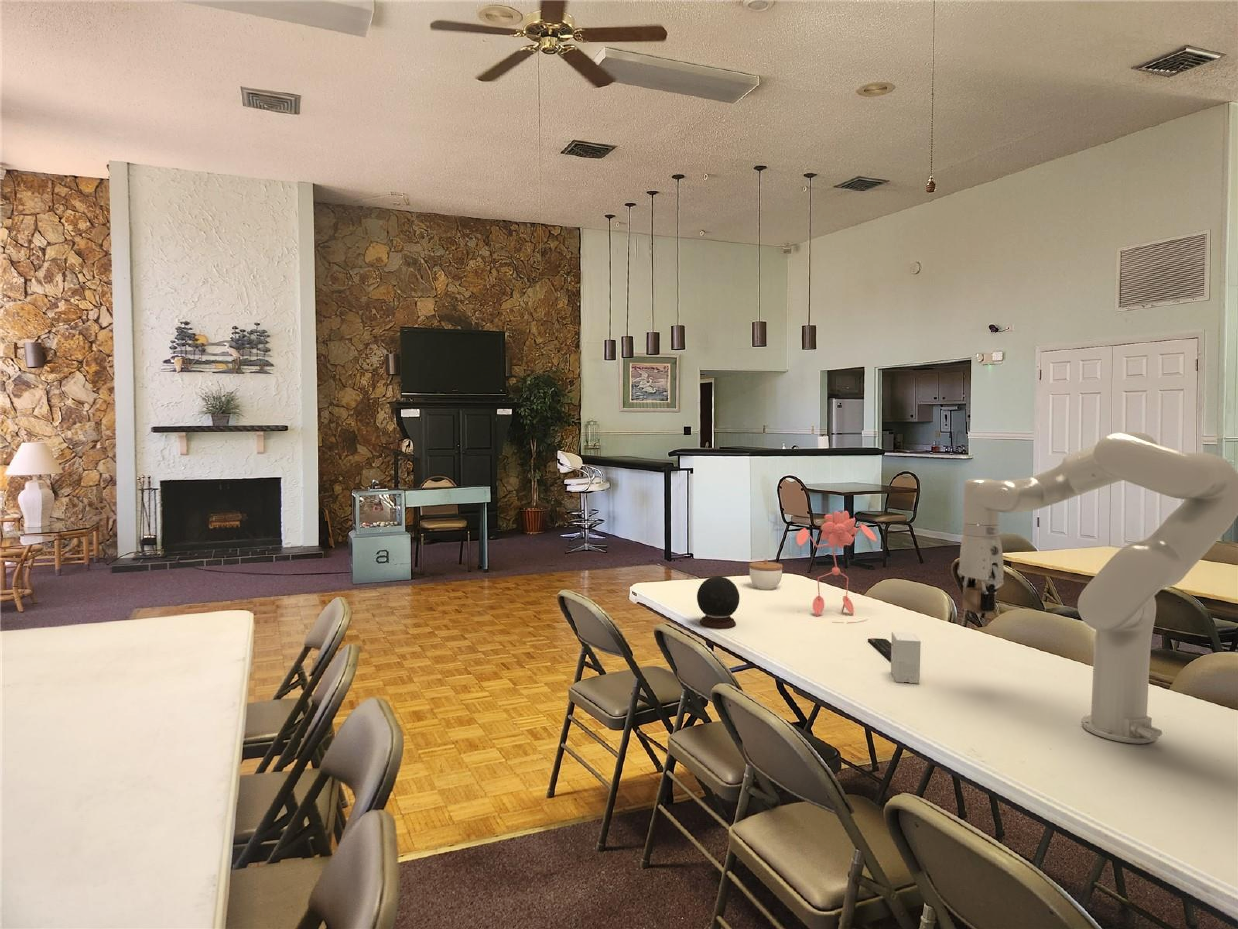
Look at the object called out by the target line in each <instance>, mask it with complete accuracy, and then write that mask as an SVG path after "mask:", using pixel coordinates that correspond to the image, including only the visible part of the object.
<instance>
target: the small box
mask: <svg viewBox="0 0 1238 929" xmlns="http://www.w3.org/2000/svg"><path fill="white" fill-rule="evenodd" d="M921 642H922V641H921V640H920V639H919V638H918V636H917V635H916V633H914V632H905V631H904V632H901V631H892V632H891V642H890V643H891V662H890V673H891V675H892V677H893V679H894V680H895V683H904V682H909V683H908V684H920V680H921V679H920V677H921Z"/></svg>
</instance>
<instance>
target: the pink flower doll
mask: <svg viewBox="0 0 1238 929" xmlns="http://www.w3.org/2000/svg"><path fill="white" fill-rule="evenodd" d="M824 521H825V523H823V524H822V525H821V526H820V530H821V531H822V532H821V535H820V539H821V541H825V540H826V541H827V543H825V544H820V545H817V543H816V542H815V540H814V539H813V537H812V536H811V535H810V533H809V530H808V529H807V528H806V527H802V529H800V530H799V531H798V532H797V534H796V543H797V545H798V546H799V547H802V546H803V545H804V544H806V542H807V541H808V540H809V538H810V540H811V541H812V543H813V544H814V546H815V547H816V548H817V549H818V548H822V547H826V546H829V548H833V549H832V556H833V561H834V567H832V569H831V572H829V573H826V574H824V575H821V576H818V577H817V590H818V591H817V594H818V595H817V596H815V597H814V599H813V600H812V601H813V602H812V609H813V612H814V614H815V616H816V617H818V616H819V615H820V614H821V613H823V611H824V609H825V604H826V603H825V600H824V597H822V596H821V595H820V580H819V579H821V578H823V577H825V576H828V575H831V574H832V575H833V576H838V575H841V576H844V577H845V578H846V592H845V595H843V596H842V602H843V605H842V608H841V613H843V612H844V611H845V610H844V609H846V610H847V611H848V612H849V614H851V615H852V616H854V604H853V602H852V600H851V599H850V598H849V596H848V589H849V586H848V585H849V577H848V576H846V575H845V574H844V573H843V572H841V569H840V568H839V567H838V565H837V560H836V559H837V558H836V554H835V553H836V551H835V550H836V548H835V547H836V546H837V547H838V548H840V549H843V548H844V547H845V546H851V545H852V544H853V543H854V541H855V538H856V536H857V535H858V533H859V531H860V529H861V532H862V533H863V534H864V535H865V536H866V537H867V538H868V539H869V540H871V541H873V542H875V543H878V541H877V537H876V535H875V534H874V532H873V531H872V530H871V528H869V527H868V526H867V525H865V524H863V523H860V524H859V526H858V528H857V527H855V525H856V518H855V517H853V518H850V514H849V511H847V510H844V511H843V512H842V513H841V512H840V511H838V510H835V511H834V512H833V514H830V513H829V514H828V513H827V514H825V515H824ZM797 611H798V612H799V610H797ZM861 622H862V623H863V622H866V619H865V620H860V621H859V623H861ZM833 623H834V624H836V623H837V624H843V622H837V621H833ZM854 623H857V621H854V622H851V621H850V622H848V624H854Z"/></svg>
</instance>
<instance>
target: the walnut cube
mask: <svg viewBox="0 0 1238 929" xmlns="http://www.w3.org/2000/svg"><path fill="white" fill-rule="evenodd" d="M981 594H983V589H982V586H976V587H968V588H962V609H963V610H966V611H969V612H972V613H974V614H987V613H996V609H997V608H996V607H997V603H996V602H997V593H996V594H995V597H994V610H993V611H981Z"/></svg>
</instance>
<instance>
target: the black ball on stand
mask: <svg viewBox="0 0 1238 929" xmlns="http://www.w3.org/2000/svg"><path fill="white" fill-rule="evenodd" d="M696 593H697V594H696V601H697V602H696V603H697V604H698V608H699V609H700V610H701V612H702V613H703V614H704V616H702V617H701V619H700V620H699V625H700V626H701V627H703V628H706V629H710V630H711V629H714V630H728V629H729V630H730V629H733V628H736V625H737V623H736V621H735V619H734V618H733V617H731V616H732V615H733V614H734V613H735V612H736V611H737V609H738V607H739V605H740V592H739V589H738V588H737V586H736V584H735V583H734V582H733V581H732V580H731V579H728V578H727V577H725V576H718V575H717V576H712V577H711V576H710V577H709V578H707V579H704V581H703V582H702V583H701V584H700V586H699V587H698V590H697V592H696Z"/></svg>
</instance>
